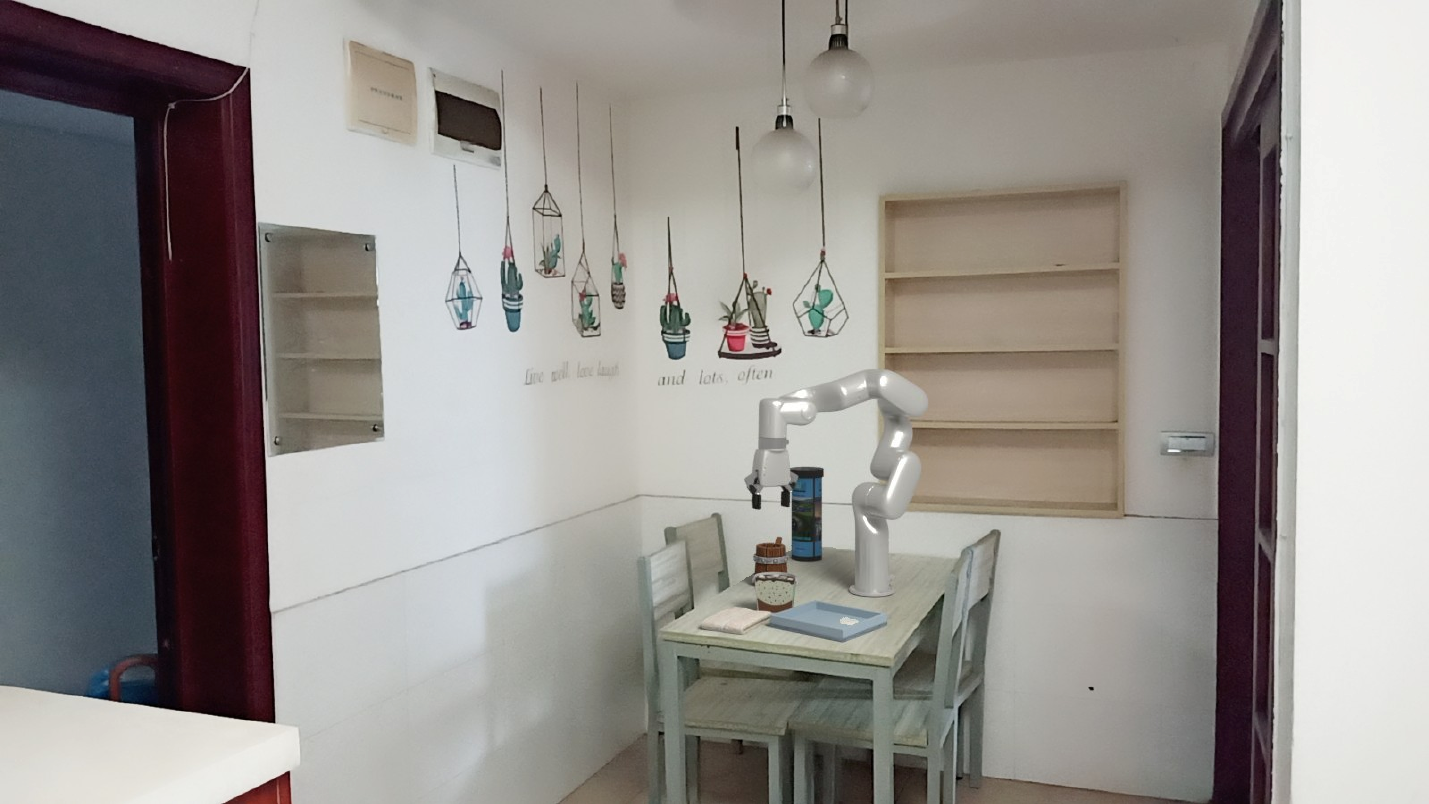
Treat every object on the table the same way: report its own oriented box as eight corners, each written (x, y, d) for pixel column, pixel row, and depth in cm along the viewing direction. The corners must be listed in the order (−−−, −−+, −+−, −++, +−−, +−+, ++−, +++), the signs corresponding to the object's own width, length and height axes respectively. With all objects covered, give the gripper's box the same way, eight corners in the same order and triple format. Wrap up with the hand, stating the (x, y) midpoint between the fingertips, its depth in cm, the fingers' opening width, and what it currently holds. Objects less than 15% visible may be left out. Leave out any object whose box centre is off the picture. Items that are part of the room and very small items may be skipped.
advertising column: (825, 555, 356) (825, 466, 354) (822, 562, 345) (822, 471, 343) (791, 554, 358) (791, 466, 356) (787, 561, 347) (787, 470, 345)
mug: (744, 587, 310) (746, 535, 311) (759, 585, 323) (762, 535, 325) (782, 590, 306) (785, 537, 307) (796, 588, 319) (798, 537, 320)
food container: (803, 610, 284) (803, 573, 283) (797, 615, 278) (797, 578, 277) (759, 606, 288) (759, 570, 287) (752, 612, 282) (752, 574, 282)
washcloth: (774, 620, 275) (774, 608, 275) (742, 637, 259) (742, 625, 259) (733, 615, 281) (733, 603, 281) (700, 631, 265) (700, 619, 265)
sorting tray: (815, 611, 282) (815, 600, 282) (886, 625, 268) (887, 613, 268) (769, 626, 267) (769, 615, 267) (843, 642, 253) (843, 630, 253)
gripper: (789, 442, 292) (787, 504, 292) (737, 444, 282) (736, 508, 283) (806, 444, 286) (804, 507, 286) (754, 446, 276) (753, 511, 277)
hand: (771, 507), depth 284 cm, fingers open, 9 cm apart
